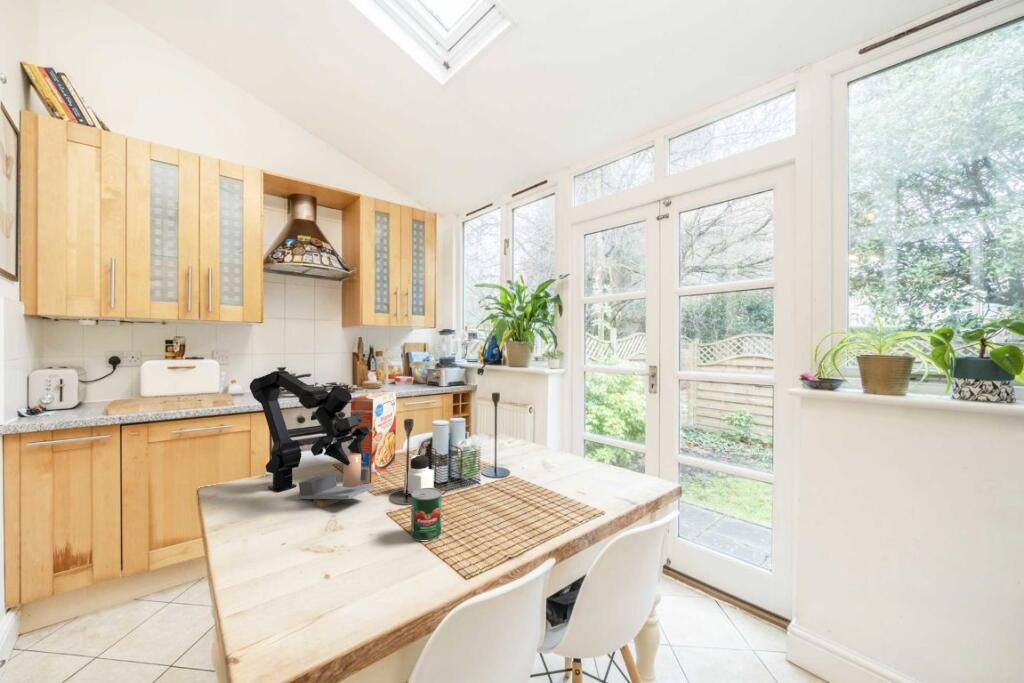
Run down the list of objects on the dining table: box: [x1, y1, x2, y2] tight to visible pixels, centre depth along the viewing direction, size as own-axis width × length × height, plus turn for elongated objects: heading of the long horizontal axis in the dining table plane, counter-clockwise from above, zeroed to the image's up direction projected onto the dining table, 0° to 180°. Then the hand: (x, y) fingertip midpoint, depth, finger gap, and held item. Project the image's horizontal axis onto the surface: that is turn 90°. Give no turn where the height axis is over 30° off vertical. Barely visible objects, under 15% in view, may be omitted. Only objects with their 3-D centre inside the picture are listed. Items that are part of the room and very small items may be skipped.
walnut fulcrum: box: [312, 499, 343, 509], centre depth 128 cm, size 4×12×2 cm, turn 155°
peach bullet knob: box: [342, 452, 361, 487], centre depth 124 cm, size 5×5×9 cm
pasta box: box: [349, 390, 397, 484], centre depth 154 cm, size 23×8×30 cm, turn 176°
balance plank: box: [298, 473, 375, 500], centre depth 128 cm, size 22×10×5 cm, turn 65°
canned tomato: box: [410, 487, 443, 542], centre depth 107 cm, size 8×8×11 cm
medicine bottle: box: [403, 454, 435, 494], centre depth 136 cm, size 7×7×12 cm
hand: (355, 462), depth 124 cm, fingers closed on peach bullet knob, 5 cm apart
